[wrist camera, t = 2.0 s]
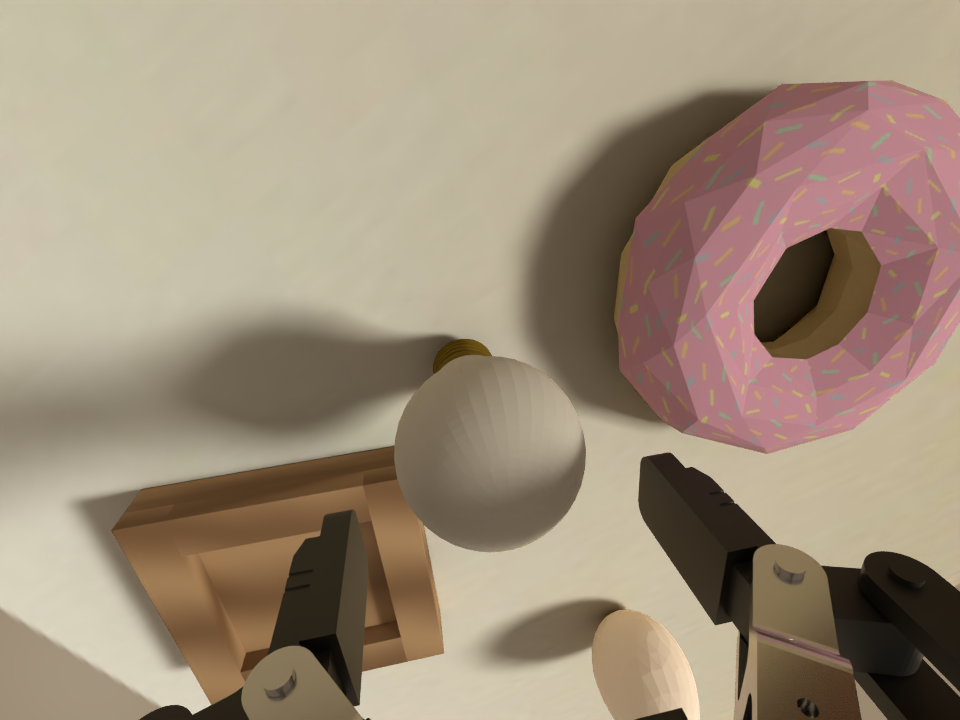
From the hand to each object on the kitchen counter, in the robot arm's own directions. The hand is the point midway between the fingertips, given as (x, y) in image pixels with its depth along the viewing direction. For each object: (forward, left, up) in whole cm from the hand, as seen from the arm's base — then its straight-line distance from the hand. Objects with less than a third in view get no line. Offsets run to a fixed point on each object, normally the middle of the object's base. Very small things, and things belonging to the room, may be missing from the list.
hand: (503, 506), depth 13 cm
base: (+10, -9, -9) cm, 16 cm away
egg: (+20, +8, -9) cm, 23 cm away
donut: (-2, +14, -10) cm, 17 cm away
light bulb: (0, 0, -9) cm, 9 cm away
